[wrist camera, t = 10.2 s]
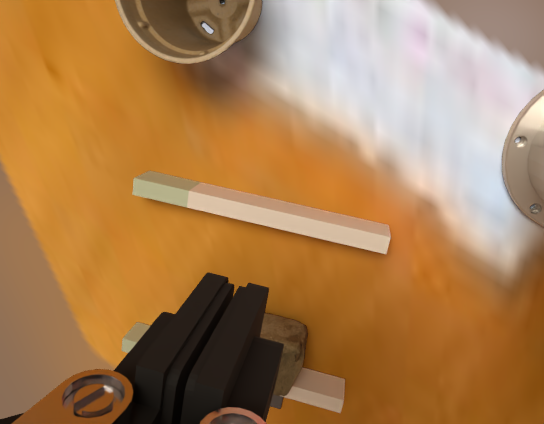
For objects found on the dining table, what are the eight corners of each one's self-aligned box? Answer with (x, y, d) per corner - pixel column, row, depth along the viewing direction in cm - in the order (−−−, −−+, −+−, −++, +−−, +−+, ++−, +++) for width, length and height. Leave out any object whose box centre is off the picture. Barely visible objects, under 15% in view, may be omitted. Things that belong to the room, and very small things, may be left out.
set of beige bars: (388, 224, 38) (390, 237, 35) (341, 391, 44) (340, 413, 41) (149, 170, 40) (133, 178, 38) (136, 333, 46) (121, 350, 44)
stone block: (194, 291, 42) (177, 319, 38) (311, 318, 42) (310, 350, 37) (187, 341, 44) (170, 374, 40) (299, 367, 44) (296, 403, 39)
